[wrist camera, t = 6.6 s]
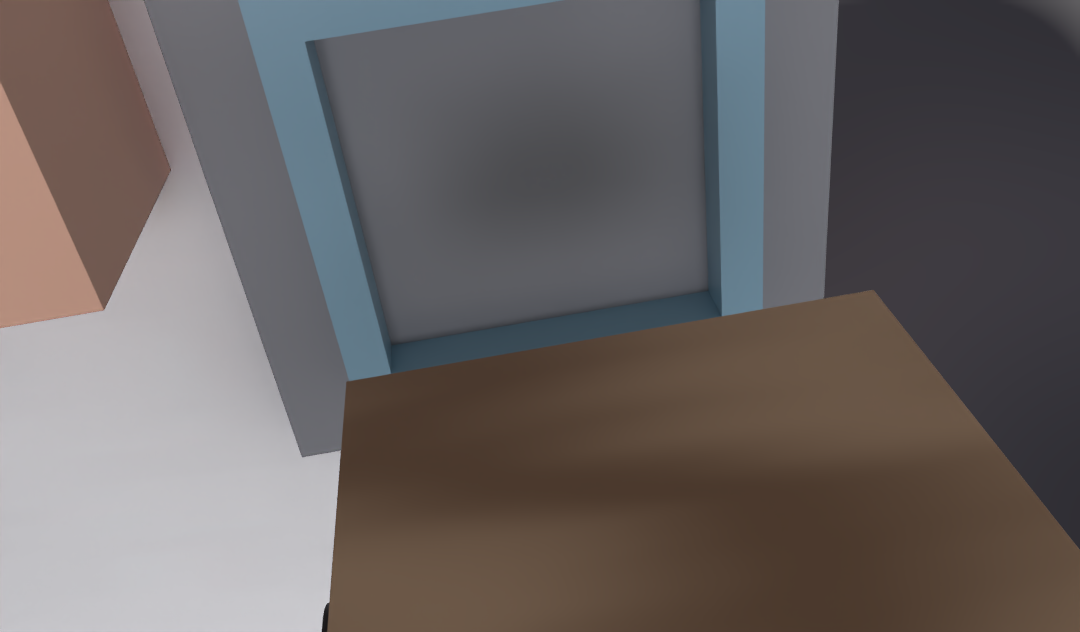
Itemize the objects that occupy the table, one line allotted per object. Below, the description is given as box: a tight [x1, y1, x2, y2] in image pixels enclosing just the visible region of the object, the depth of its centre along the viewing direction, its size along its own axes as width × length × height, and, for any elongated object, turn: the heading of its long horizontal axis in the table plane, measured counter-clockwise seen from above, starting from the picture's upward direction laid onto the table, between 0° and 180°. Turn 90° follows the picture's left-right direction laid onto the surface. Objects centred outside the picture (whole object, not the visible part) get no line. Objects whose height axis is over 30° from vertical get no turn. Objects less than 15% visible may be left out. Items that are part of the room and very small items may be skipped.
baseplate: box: [144, 0, 839, 457], centre depth 22 cm, size 14×14×2 cm
